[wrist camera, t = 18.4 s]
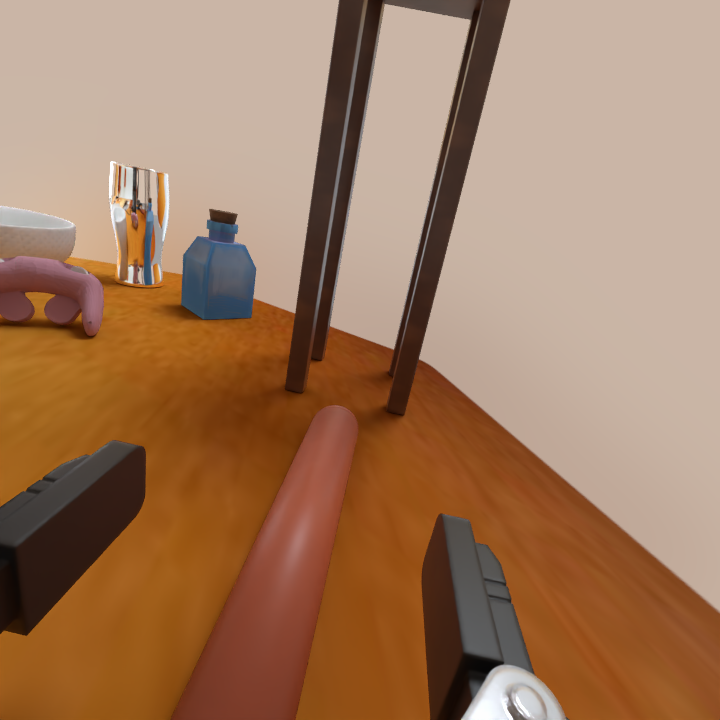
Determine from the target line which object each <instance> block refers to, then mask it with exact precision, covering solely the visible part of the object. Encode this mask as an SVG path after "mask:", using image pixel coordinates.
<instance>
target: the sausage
mask: <svg viewBox="0 0 720 720" xmlns="http://www.w3.org/2000/svg"><path fill="white" fill-rule="evenodd" d="M357 436H358V423H357V420H356V418H355V416H354V415H353V414H352V412H351V411H349V410H348V409H346V408H344V407H342V406H337V405H332V406H327V407H325V408H323V409H321V410H320V411H319V412H318V413H317V414H316V415H315V417H314V418H313V420H312V422H311V424H310V426H309V429H308V431H307V433H306V435H305V437H304V439H303V441H302V443H301V445H300V447H299V450H298V452H297V454H296V456H295V458H294V460H293V462H292V464H291V466H290V469H289V471H288V473H287V475H286V477H285V479H284V481H283V483H282V485H281V488H280V490H279V492H278V494H277V496H276V498H275V500H274V502H273V504H272V507H271V509H270V511H269V513H268V515H267V517H266V519H265V521H264V523H263V526H262V528H261V530H260V532H259V534H258V536H257V538H256V540H255V542H254V545H253V547H252V549H251V551H250V553H249V555H248V557H247V559H246V561H245V564H244V566H243V568H242V570H241V572H240V574H239V576H238V578H237V580H236V583H235V585H234V587H233V589H232V591H231V593H230V595H229V597H228V599H227V602H226V604H225V606H224V608H223V610H222V612H221V614H220V616H219V618H218V621H217V623H216V625H215V627H214V629H213V631H212V633H211V635H210V637H209V640H208V642H207V644H206V646H205V648H204V650H203V652H202V654H201V656H200V659H199V661H198V663H197V665H196V667H195V669H194V671H193V673H192V675H191V678H190V680H189V682H188V684H187V686H186V688H185V690H184V692H183V694H182V696H181V699H180V701H179V703H178V705H177V707H176V709H175V711H174V713H173V715H172V718H171V720H295V719H296V714H297V710H298V705H299V701H300V696H301V691H302V687H303V682H304V678H305V673H306V669H307V664H308V659H309V655H310V650H311V646H312V641H313V637H314V632H315V627H316V623H317V618H318V614H319V609H320V605H321V600H322V595H323V591H324V586H325V582H326V577H327V573H328V568H329V564H330V559H331V554H332V550H333V545H334V541H335V536H336V532H337V527H338V522H339V518H340V513H341V509H342V504H343V500H344V495H345V490H346V486H347V481H348V477H349V472H350V468H351V463H352V458H353V454H354V449H355V445H356V440H357Z"/></svg>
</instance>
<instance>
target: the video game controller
mask: <svg viewBox="0 0 720 720" xmlns="http://www.w3.org/2000/svg"><path fill="white" fill-rule="evenodd" d="M26 292H44V293H50V294H55V295H56V296H55V297H53V298H52V299H50V300H49V301H48V302H47V303H46V306H45V309H44V312H45V315H46V316H47V318H48V319H50V320H51V321H52V322H54V323H56V324H59V325H68V324H71V323H72V322H74V321H75V319H76V318H77V317H78V315H79V314H80V313H81V312H82V322H83V326H84V329H85V332H86V334H87V335H89V336H94V335H95V334H96V333H97V332H98V331H99V328H100V326H101V321H102V315H103V308H104V300H103V287H102V284H101V283H100V281H99V280H98V279H97V278H96V277H95V276H94V275H92V274H91V273H89V272H88V271H86V270H85V269H83V268H82V267H78V266H73V265H70V264H66V263H63V262H61V261H58V260H53V259H47V258H38V257H28V256H17V257H13V258H2V259H1V258H0V314H1V315H2V316H3V317H4V318H5V319H7V320H10V321H12V322H18V323H19V322H25V321H28V320H29V319H31V318H32V317H33V315H34V312H35V310H34V306H33V304H32V303H31V301H30V300H29V299H28V298H27V297H26V296H25V293H26Z"/></svg>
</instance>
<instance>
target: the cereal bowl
mask: <svg viewBox="0 0 720 720" xmlns="http://www.w3.org/2000/svg"><path fill="white" fill-rule="evenodd" d="M75 233H76V227H75V225H74V224H73V223H72V222H70V221H68V220H65V219H62V218H59V217H55V216H51V215H47V214H43V213H39V212H34V211H28V210H23V209H18V208H12V207H6V206H0V258H1V259H2V258H13V257H17V256H28V257H38V258H47V259H53V260H58V261H61V262H64V261H66V260H67V258H69V256H70V255H71V253H72V251H73V248H74V244H75Z"/></svg>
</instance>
